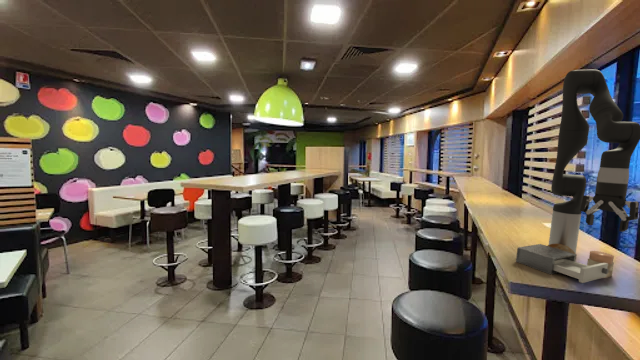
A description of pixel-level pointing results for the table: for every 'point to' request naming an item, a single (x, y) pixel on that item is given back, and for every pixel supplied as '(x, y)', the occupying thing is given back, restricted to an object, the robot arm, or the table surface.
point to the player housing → (542, 257)
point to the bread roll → (562, 247)
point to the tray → (581, 270)
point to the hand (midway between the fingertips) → (605, 228)
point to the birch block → (591, 262)
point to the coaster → (601, 257)
